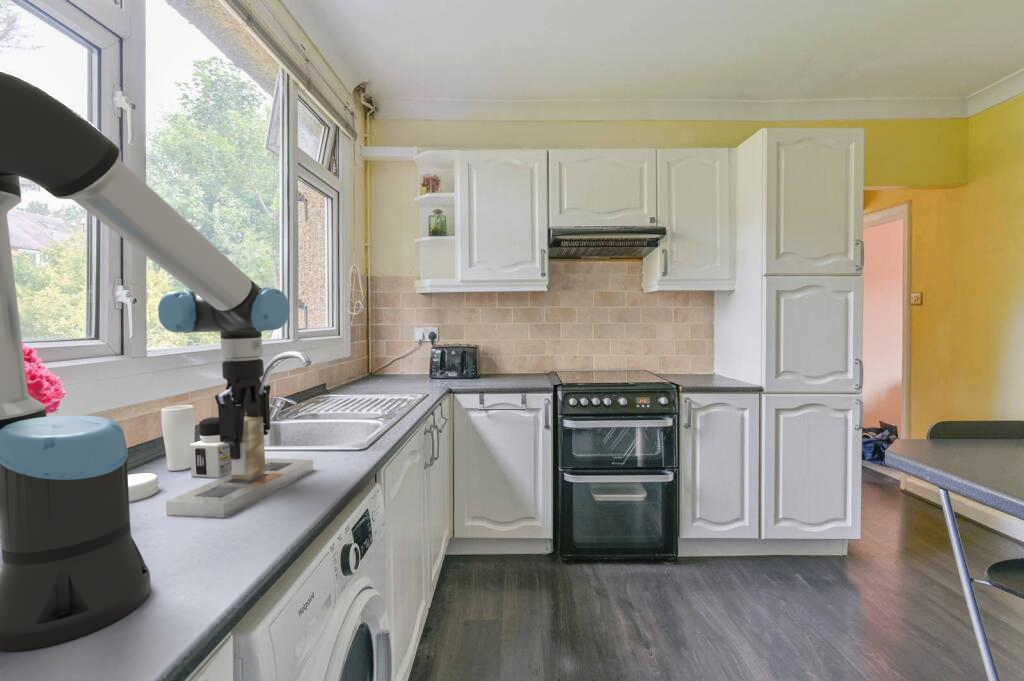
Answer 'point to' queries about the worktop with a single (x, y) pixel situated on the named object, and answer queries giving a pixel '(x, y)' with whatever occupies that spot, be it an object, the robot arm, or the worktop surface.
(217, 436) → the container
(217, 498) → the slotted peg board
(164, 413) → the drinking glass
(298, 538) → the worktop surface
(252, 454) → the beech peg
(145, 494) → the coaster
